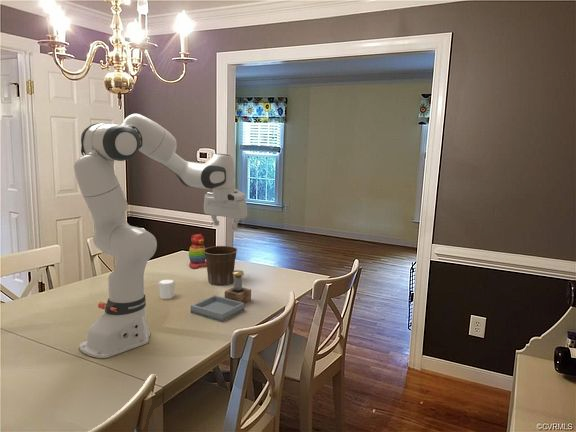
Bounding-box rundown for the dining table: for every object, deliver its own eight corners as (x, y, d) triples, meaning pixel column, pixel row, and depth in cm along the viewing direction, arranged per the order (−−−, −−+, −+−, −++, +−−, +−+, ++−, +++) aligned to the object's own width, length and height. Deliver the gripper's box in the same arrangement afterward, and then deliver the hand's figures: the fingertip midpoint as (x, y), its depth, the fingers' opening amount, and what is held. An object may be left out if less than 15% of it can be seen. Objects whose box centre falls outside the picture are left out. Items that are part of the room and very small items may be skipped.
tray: (222, 322, 154) (222, 314, 153) (190, 312, 162) (190, 305, 161) (244, 310, 166) (244, 303, 165) (214, 301, 174) (214, 295, 173)
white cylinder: (170, 300, 174) (169, 284, 173) (155, 298, 176) (155, 283, 175) (177, 294, 181) (177, 279, 180) (163, 293, 182) (163, 278, 181)
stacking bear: (193, 269, 219) (192, 237, 216) (184, 265, 226) (184, 233, 223) (211, 266, 226) (210, 234, 223) (202, 262, 233) (201, 231, 230)
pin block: (239, 306, 170) (239, 294, 169) (224, 302, 174) (224, 291, 173) (251, 300, 176) (251, 289, 175) (236, 296, 180) (236, 286, 180)
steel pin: (238, 304, 172) (239, 274, 170) (230, 302, 174) (230, 272, 172) (245, 301, 176) (245, 271, 174) (236, 298, 178) (237, 269, 176)
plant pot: (222, 289, 189) (222, 255, 186) (196, 283, 197) (196, 250, 195) (243, 280, 203) (244, 249, 200) (219, 274, 211) (219, 244, 208)
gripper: (199, 192, 167) (201, 225, 170) (239, 197, 157) (240, 232, 160) (209, 190, 173) (211, 222, 176) (249, 194, 163) (249, 228, 166)
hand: (225, 226), depth 168 cm, fingers open, 8 cm apart
